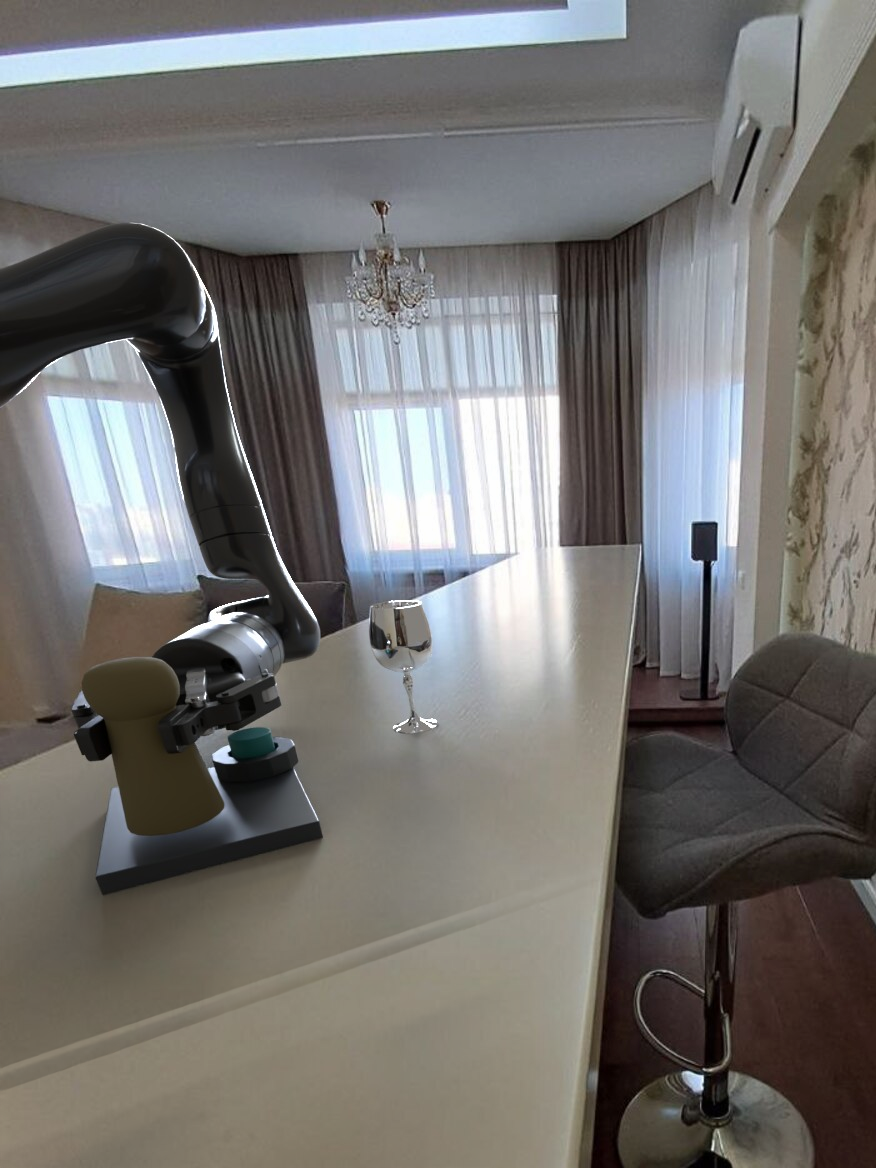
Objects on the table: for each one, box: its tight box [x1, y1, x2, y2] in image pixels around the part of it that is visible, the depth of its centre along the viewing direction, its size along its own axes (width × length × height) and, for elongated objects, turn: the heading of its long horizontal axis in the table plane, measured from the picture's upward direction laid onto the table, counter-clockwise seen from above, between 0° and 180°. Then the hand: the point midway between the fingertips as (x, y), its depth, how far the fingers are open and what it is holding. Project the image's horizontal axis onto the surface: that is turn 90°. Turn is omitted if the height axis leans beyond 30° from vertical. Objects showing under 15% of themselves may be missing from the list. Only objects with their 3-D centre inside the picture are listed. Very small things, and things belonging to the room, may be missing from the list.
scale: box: [94, 736, 324, 896], centre depth 51 cm, size 16×14×3 cm
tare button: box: [227, 726, 275, 759], centre depth 55 cm, size 3×3×2 cm
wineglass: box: [368, 600, 439, 734], centre depth 66 cm, size 6×6×12 cm
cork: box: [81, 656, 224, 836], centre depth 45 cm, size 6×6×11 cm
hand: (129, 742), depth 42 cm, fingers closed on cork, 4 cm apart
